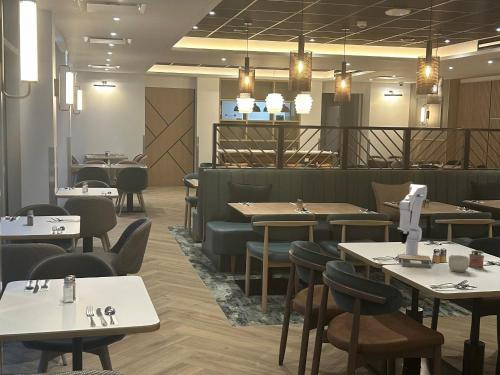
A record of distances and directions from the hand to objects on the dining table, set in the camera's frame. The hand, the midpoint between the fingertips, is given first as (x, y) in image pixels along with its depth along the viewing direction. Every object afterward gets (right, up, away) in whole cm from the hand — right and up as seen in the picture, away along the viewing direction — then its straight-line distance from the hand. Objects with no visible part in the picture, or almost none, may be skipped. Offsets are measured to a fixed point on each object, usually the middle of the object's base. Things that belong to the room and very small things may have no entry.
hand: (403, 243), depth 358 cm
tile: (+3, -9, -14) cm, 17 cm away
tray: (+4, -11, -12) cm, 17 cm away
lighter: (+38, -13, -12) cm, 42 cm away
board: (+6, -10, -1) cm, 12 cm away
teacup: (+25, -13, -20) cm, 35 cm away
